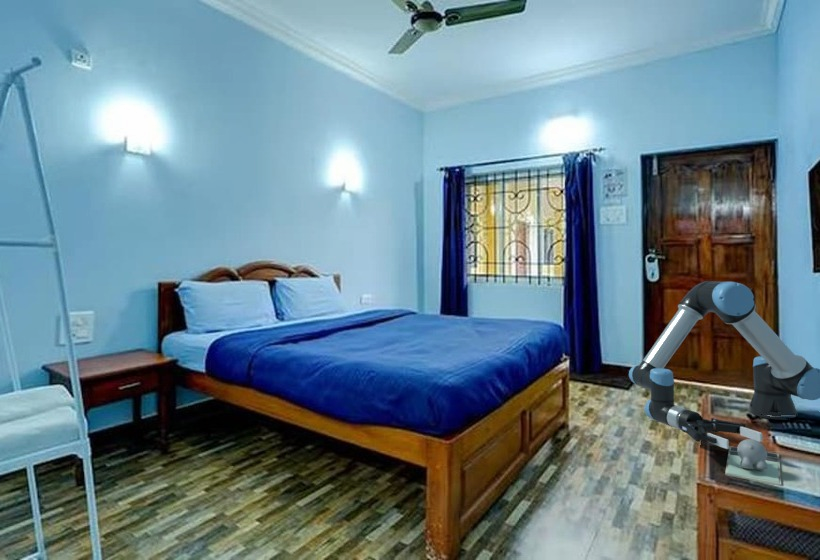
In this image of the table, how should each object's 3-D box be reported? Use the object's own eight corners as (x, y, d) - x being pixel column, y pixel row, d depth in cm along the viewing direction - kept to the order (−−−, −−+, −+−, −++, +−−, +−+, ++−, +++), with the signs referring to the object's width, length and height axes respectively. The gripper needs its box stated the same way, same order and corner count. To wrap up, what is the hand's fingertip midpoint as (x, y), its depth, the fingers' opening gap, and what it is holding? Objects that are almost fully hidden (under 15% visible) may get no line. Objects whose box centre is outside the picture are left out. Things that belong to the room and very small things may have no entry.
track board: (729, 447, 159) (729, 446, 159) (778, 455, 151) (778, 453, 151) (725, 475, 140) (725, 473, 140) (781, 485, 132) (781, 483, 132)
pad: (730, 455, 152) (730, 454, 152) (777, 463, 145) (777, 462, 145) (727, 473, 140) (727, 472, 140) (778, 482, 132) (778, 482, 132)
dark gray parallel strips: (731, 447, 158) (731, 446, 158) (776, 454, 151) (776, 454, 151) (730, 454, 152) (730, 453, 152) (777, 462, 145) (777, 461, 145)
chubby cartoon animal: (763, 471, 145) (761, 442, 147) (770, 471, 135) (768, 440, 137) (734, 467, 148) (733, 439, 151) (740, 467, 138) (738, 436, 141)
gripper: (713, 425, 168) (775, 446, 148) (656, 436, 161) (713, 460, 140) (712, 404, 168) (774, 422, 147) (656, 414, 161) (712, 435, 140)
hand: (744, 441), depth 144 cm, fingers open, 13 cm apart
